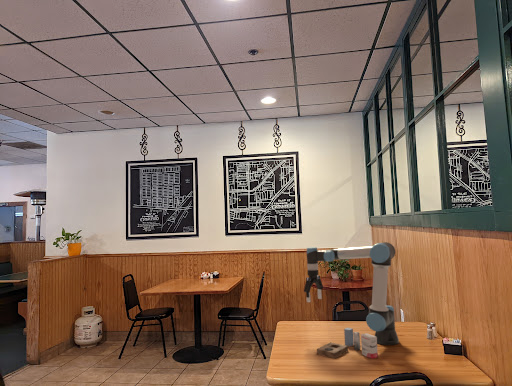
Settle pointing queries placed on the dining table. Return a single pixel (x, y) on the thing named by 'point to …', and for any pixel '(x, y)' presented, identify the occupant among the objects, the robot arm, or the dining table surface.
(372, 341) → the ink box
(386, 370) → the dining table surface
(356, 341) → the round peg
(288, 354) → the dining table surface
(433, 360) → the dining table surface
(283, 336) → the dining table surface
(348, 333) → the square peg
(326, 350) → the socket block
